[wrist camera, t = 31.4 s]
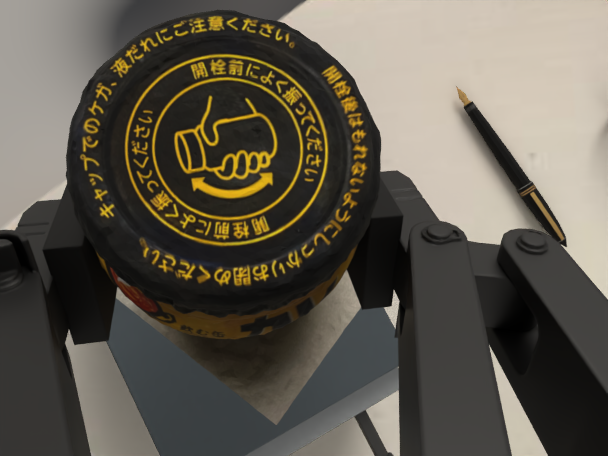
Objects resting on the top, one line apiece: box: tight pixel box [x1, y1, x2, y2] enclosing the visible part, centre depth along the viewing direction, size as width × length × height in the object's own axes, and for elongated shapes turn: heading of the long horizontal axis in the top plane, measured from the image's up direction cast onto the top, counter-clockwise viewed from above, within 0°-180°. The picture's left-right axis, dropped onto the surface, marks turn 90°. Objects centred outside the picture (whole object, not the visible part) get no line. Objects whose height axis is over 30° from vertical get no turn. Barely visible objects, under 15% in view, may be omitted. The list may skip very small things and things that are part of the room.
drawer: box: [246, 367, 399, 456], centre depth 30 cm, size 18×11×8 cm, turn 28°
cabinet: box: [106, 298, 398, 456], centre depth 31 cm, size 15×13×10 cm
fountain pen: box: [457, 88, 567, 247], centre depth 39 cm, size 14×1×2 cm, turn 33°
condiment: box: [66, 10, 381, 425], centre depth 14 cm, size 7×8×12 cm
